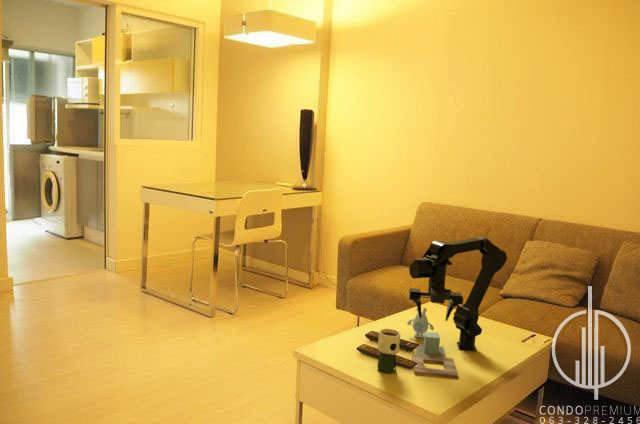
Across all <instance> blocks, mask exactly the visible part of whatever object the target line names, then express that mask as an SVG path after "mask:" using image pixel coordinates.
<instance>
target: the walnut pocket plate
mask: <svg viewBox="0 0 640 424" xmlns="http://www.w3.org/2000/svg"><path fill="white" fill-rule="evenodd" d="M411 359H412V360H413V361H414V362H416V363H417V366H414V368H413V373H414V375H421V376H432V377H441V378H442V377H443V378H449V379H450V378H452V379H459V374H458V371H457V367H456V364H455V361H454V358H453V357H447V356H446V357H437V356H426V355H417V353H416V354H415V353H414V354H413V353H412V354H411ZM413 361H412V362H413ZM425 363H429V364H442V365H443V367H444V369H442V368H441V369H440V368H434V367H433V368H431V367H425Z"/></svg>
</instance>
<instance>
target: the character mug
mask: <svg viewBox="0 0 640 424" xmlns="http://www.w3.org/2000/svg"><path fill="white" fill-rule="evenodd" d="M377 341H378V342H377V351H379V352H380V353H379V356H378V361H377V366H376V367H377V369H378V370H380V371H382V372H384V373H394V372H395V371H397V355H396V354H398V353H399V352H400V343H401V332H400V331H399V330H397V329H393V328H382V329H379V330H378V339H377Z"/></svg>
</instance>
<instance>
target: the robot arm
mask: <svg viewBox="0 0 640 424" xmlns="http://www.w3.org/2000/svg"><path fill="white" fill-rule="evenodd" d="M474 251H478V252H479V253H480V254H481V260H480V262H481V269H480V271H479V273H478V276H477V277H476V279H475V281H474V284H473V286H472V288H471V290H470V293H469V295H468V297H467V298H466V301H465V303H464V296H463V295H462V293H461V292H454V291H452V289H447V288H446V278H447V277H446V275H447V269H448V268H447V266H452V265H453V263H452V262H451V260H450V259H452V258H453V257H455V256H456V255H458V254H462V253H463V254H464V253H468V252H474ZM507 260H508V256H507V253H506V251H504V250H502V249H501V248H499V247H498V246H496V245H495V244H494V243H493V242H492V241H491V240H490V239H488V238H487V237H483V236H476V237H473V238H472V237H471V238H467V239H461V240H456V241H448V240H447V241H444V240H434V241H431V244H430V245H429V246H428V248H427V250H426V251H425V252H424V254H423V255H422V256H421V258H414V259H413V262H411V264H410V266H409V268H408V271H409V275H410V277H411V279H414V280H415V279H428V286H427V292H424V291H421V289H420V288H411V287H410V288H409V289H408V299H409V300H411V301H412V302H413V303H415V304H416V307H417V308H418V311H417V313H418V312H419V317H420V318H421V312H422V300H421V299H422V298H425V299H429V301H430V302H431V303H432V304H435V303H436V304H441V305H443V304H445V302H446V301H447V307H446V313H445V322H448V320H449V318H450V316H451V314H453V317H452V320H453V323H454V324H455V328H456V329H458V330H459V339H458V340H459V341H456V345H457V348H458V349H459V350H462V351H470V352H471V351H473V352H477V350H478V349H477V347H476V338H477V337H478V336H481V334H482V331H483V329H482V327H481V326H480V325H479V323H478V321H479V315H480V314H479V308H480V306H481V304H482V302H483V299H484V298H485V295H486V293H487V291H488V289H489V286H490V284H491V282H492V280H493V278H494V276H495V274H496V273H497V272H499V271H501V269H503V267H504V265H505V264H506V263H507ZM417 308H416V309H417ZM455 308H456V309H455ZM454 309H455V311H454V312H453V310H454ZM452 312H453V313H452Z"/></svg>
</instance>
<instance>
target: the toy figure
mask: <svg viewBox="0 0 640 424" xmlns="http://www.w3.org/2000/svg"><path fill="white" fill-rule="evenodd" d="M416 310H417V311H416V312H417V313H416V315H415V316H414V318H413V319H410V320H408V321H407V323H406V324H407V326H412V329H413V331H414V332H415V333H414V334H413V337H414V338H420V339H424V333H425V332H428V329H429V330H431V331H434V330H435V328H434V326H433V324H432V323H430V322H429V321H428V317H427V315H426V314H427V308H426V307H423V309H422V311H421V318H420V317H419V312H418V308H416Z"/></svg>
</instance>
